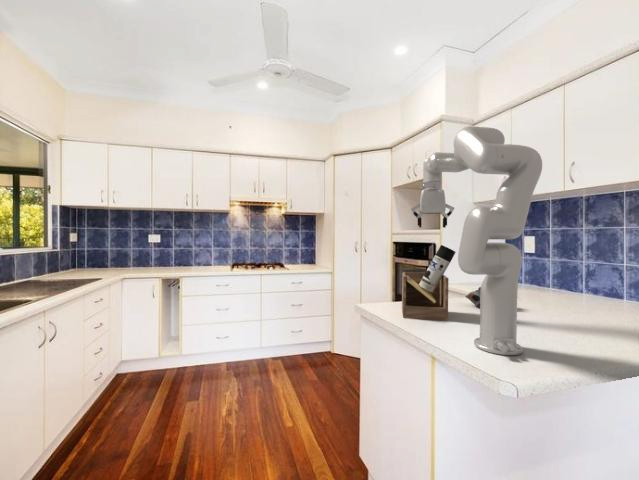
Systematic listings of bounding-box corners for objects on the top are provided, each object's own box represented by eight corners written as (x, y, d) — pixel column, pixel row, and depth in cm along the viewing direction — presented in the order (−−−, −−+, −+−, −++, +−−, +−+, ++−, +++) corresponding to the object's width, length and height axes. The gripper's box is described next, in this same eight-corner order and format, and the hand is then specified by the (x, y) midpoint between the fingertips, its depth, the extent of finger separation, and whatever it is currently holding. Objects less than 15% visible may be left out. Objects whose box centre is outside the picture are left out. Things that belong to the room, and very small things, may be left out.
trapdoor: (434, 303, 122) (436, 300, 121) (406, 280, 124) (408, 278, 124) (430, 296, 135) (432, 294, 135) (405, 276, 138) (407, 274, 138)
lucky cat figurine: (480, 302, 154) (496, 280, 151) (498, 317, 144) (515, 293, 140) (460, 295, 149) (475, 272, 145) (477, 310, 138) (494, 285, 134)
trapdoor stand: (447, 321, 119) (448, 278, 119) (402, 317, 123) (403, 276, 123) (441, 311, 136) (441, 273, 135) (401, 308, 140) (402, 272, 140)
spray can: (415, 283, 131) (437, 243, 129) (426, 288, 133) (448, 249, 131) (424, 290, 125) (447, 247, 122) (436, 295, 127) (459, 253, 125)
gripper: (411, 186, 127) (411, 227, 126) (456, 185, 122) (455, 227, 122) (410, 189, 134) (410, 227, 134) (452, 188, 130) (452, 227, 130)
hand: (432, 227), depth 128 cm, fingers open, 9 cm apart
